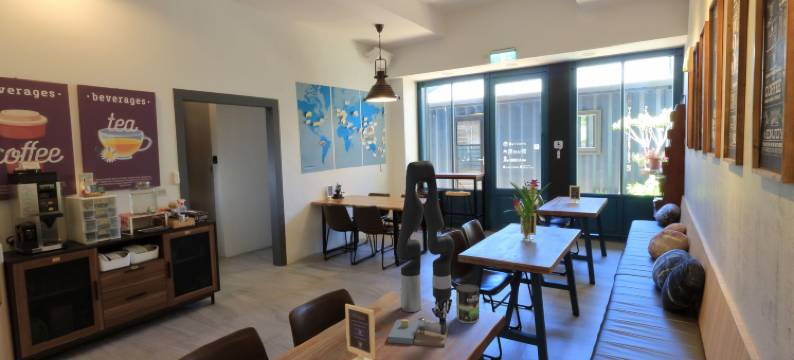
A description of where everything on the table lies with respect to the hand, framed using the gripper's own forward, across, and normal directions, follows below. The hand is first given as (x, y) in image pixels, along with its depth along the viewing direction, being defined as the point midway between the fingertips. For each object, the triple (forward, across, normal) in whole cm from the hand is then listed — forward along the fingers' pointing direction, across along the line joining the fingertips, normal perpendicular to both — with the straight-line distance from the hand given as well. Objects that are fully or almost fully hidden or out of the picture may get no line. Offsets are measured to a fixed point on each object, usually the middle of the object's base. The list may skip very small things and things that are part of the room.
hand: (442, 325), depth 171 cm
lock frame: (+4, -5, +9) cm, 11 cm away
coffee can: (+5, +21, -1) cm, 21 cm away
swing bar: (+2, -4, +3) cm, 5 cm away
